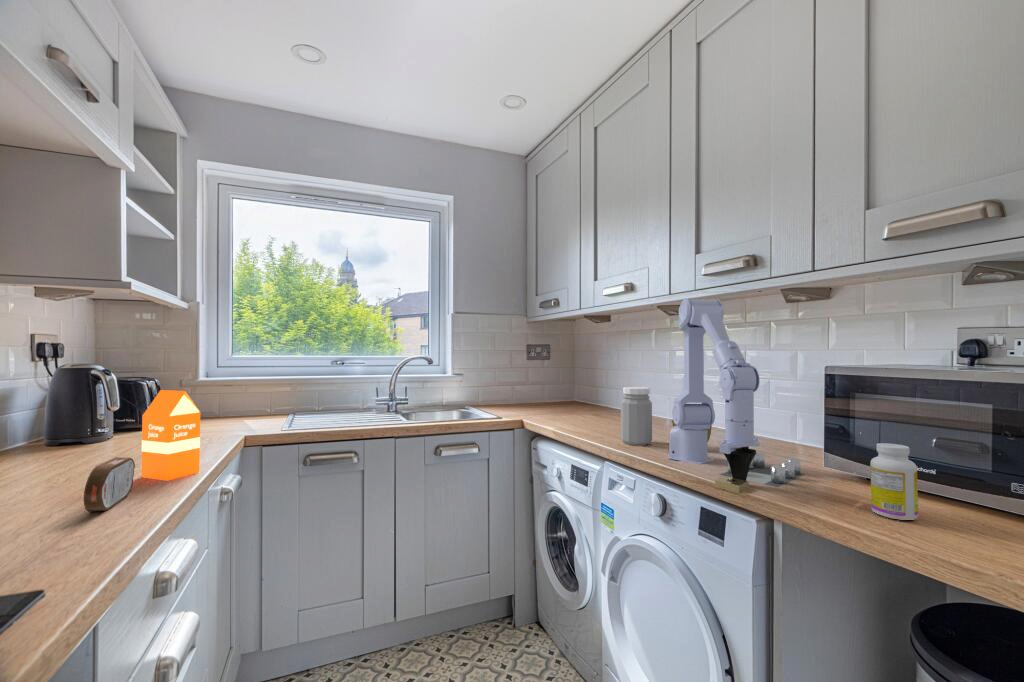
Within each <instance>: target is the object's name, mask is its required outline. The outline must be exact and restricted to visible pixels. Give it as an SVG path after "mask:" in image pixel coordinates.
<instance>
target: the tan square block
mask: <svg viewBox="0 0 1024 682" xmlns="http://www.w3.org/2000/svg"><path fill="white" fill-rule="evenodd" d="M714 486H715V488H714V489H716V490H719V491H721V492H727V493H729V491H730V493H732V494H735V495H738V493H741V492H743V491H745V490H747V489H749V488H750V481H745V480H741V479H736V478H732V477H728V476H723V477H720V478H717V479H715V480H714Z"/></svg>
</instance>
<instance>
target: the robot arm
mask: <svg viewBox="0 0 1024 682" xmlns="http://www.w3.org/2000/svg"><path fill="white" fill-rule="evenodd" d="M724 315H725V307H724V304H723V302H722V301H721V300H720V299H719V298H717V299H689V298H685V299H683V300H682V301H681V303H680V305H679V308H678V330H680V331H682V332H683V355H684V356H683V358H684V359H683V363H684V365H683V369H684V370H683V372H684V373H683V374H684V376H683V377H684V381H683V383H684V389H683V392H681V393H680V394H679V395H677V396H676V397H675V398H674V400H673V407H672V411H671V412H672V414H671V416H672V420H673V421H674V423H675V424H676V425H677V426H674V427H673V426H672V427H671V429H670V432H669V443H668V444H669V445H668V446H669V447H668V448H669V452H668V454H669V455H668V456H667V459H670V460H675V461H679V462H681V461H683V462H687V463H691V464H697V465H703V464H705V463H708V462H712V461H715V458H712V457H709V456H708V453H709V452H708V443H707V429H710V426H713V424H714V423H715V419H716V413H715V409H714V401H713V399H712V398H711V397H710V396H708V395H707V394H706V393H705V384H704V383H705V381H704V380H705V379H704V378H705V377H704V375H705V374H704V373H705V371H704V369H705V368H704V360H705V359H704V336H705V334H707V335H708V337H709V340H711V342H712V344H713V348H712V355H713V357H714V359H715V362H716V365H717V366H718V368H719V371H720V376H719V377H720V378H719V384H720V388H721V392H722V394H721V395H722V398H723V400H724V403H725V405H724V407H725V408H724V415H725V416H724V420H725V421H724V422H725V424H724V427H725V429H724V436H725V437H724V439H723V440H722V442H720V443H719V453H720V454H723V455H724V456H725V459H726V460H727V464H728V463H729V466H730V469H731V473H732V477H733V478H736V479H741V480H745V481H746V479H747V475H748V471H749V467H750V464H752V463H753V458H754V456H755V455H756V452H757V450H756V449H753V448H750V447H759V446H761V445H760V443H761V442H759V439H758V436H755V434H754V433H755V430H754V429H755V428H754V427H755V415H754V413H755V412H754V411H755V410H754V408H755V407H754V406H755V405H754V402H755V399H754V398H755V397H754V396H755V392H756V391H757V390H758V388H759V387H760V374H759V371H758V369H757V368H756V367H755V366H753V365H752V364H751V363H748V362H747V361H746V359H745V357H744V356H743V354H742V351H741V349H740V348H739V347H740V346H738V344H737V342H736V341H734V340H733V341H732V340H730V337H729V335H728V332H727V329H726V327H725V324H724V321H723V320H724ZM732 477H731V478H732Z"/></svg>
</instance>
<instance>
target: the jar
mask: <svg viewBox="0 0 1024 682" xmlns="http://www.w3.org/2000/svg"><path fill="white" fill-rule="evenodd" d="M650 389H651V388H650V387H647V386H624V387H622V393H623V394H624V395H622V398H623V399H622V400H621V401H620V440H621V441H622V443H624V444H625V445H628V444H630V445H629V446H636V445H644V446H648V445H650V444H651V442H652V441H653V406H652V405H653V402H652V401H651V399H650V397H651V396H650V394H651V391H650ZM647 444H648V445H647Z"/></svg>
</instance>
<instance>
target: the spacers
mask: <svg viewBox="0 0 1024 682" xmlns="http://www.w3.org/2000/svg"><path fill="white" fill-rule="evenodd" d="M751 464H753V465H751ZM751 464H750V467H749V469H754V467H755V468H765V466H766V453H764V452H761V451H760V452H759V451H758V452H757V451H756V455H755V456H754V458H753V460H752V463H751ZM770 467H771V482H772V483H776V484H784V485H785V479H794V480H796V479H795V475H800V474H801V473H802V471H801V459H800V458H797V457H786V460H785V461H783V460H782V461H780V465H779V464H778V465H776V464H775V465H774V464H772V465H771V466H770ZM727 472H728V473H729V474H732V473H731V469H730V466H729V463H728V462H727Z"/></svg>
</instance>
